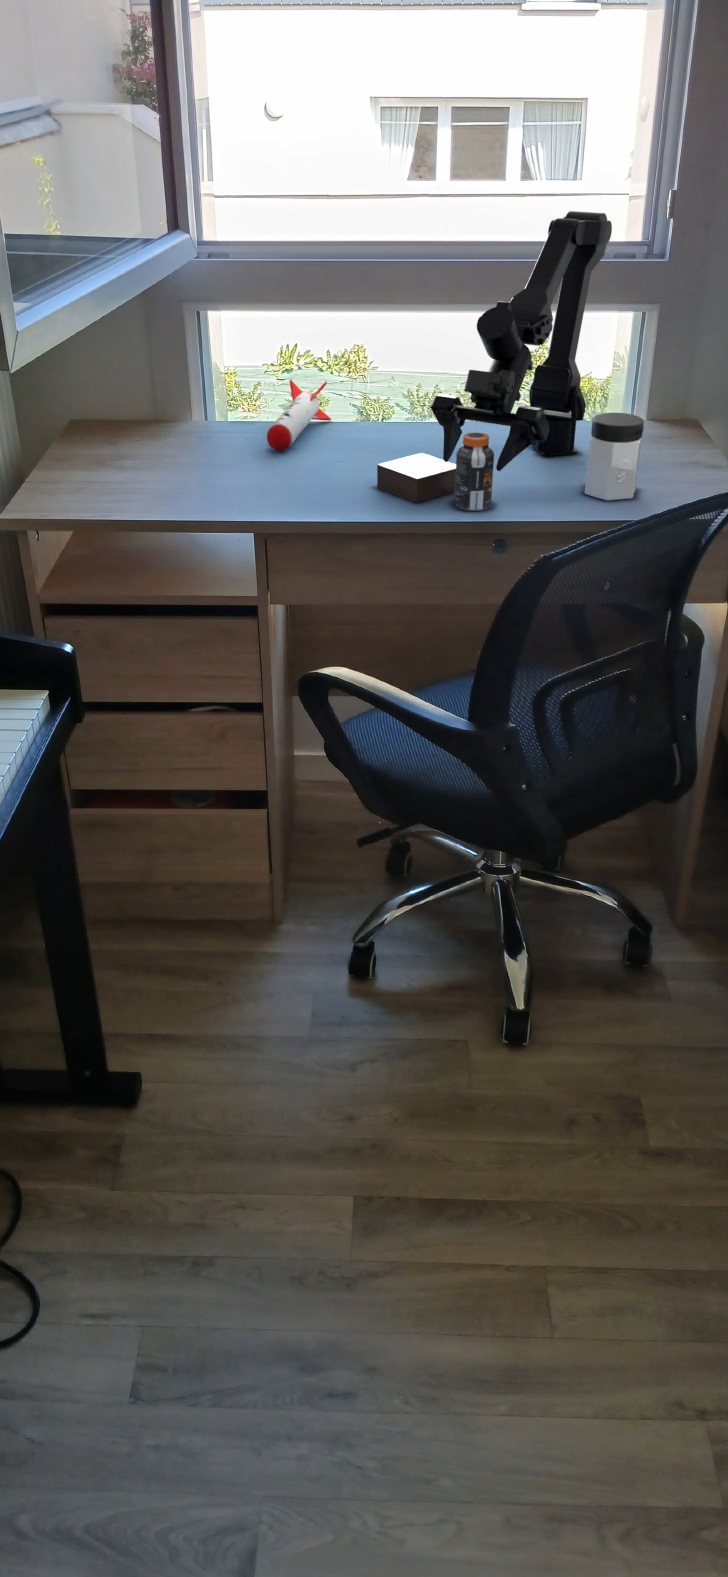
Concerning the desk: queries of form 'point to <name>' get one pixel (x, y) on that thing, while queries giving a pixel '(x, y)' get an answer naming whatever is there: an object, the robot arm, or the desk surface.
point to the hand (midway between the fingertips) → (471, 464)
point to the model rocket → (295, 418)
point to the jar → (614, 456)
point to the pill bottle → (474, 472)
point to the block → (417, 477)
